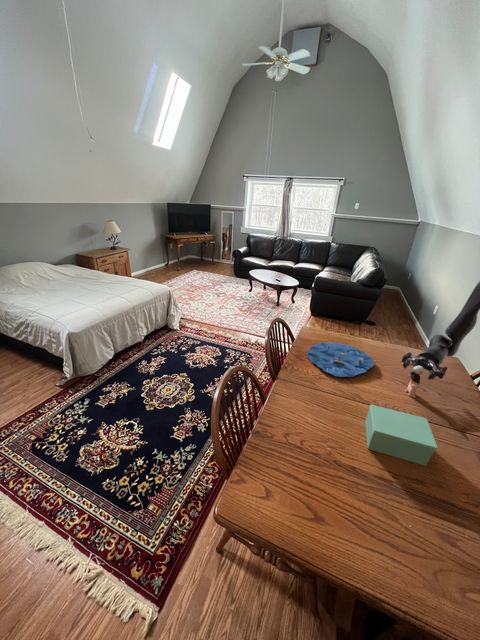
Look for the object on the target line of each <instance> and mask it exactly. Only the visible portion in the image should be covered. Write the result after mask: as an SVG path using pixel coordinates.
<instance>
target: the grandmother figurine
mask: <svg viewBox="0 0 480 640" xmlns="http://www.w3.org/2000/svg"><path fill="white" fill-rule="evenodd" d="M424 370H425V369H424V368H423V367H422V366H413V368H412V371H411V372H409V374H408V377H409V378H410V381H409V383H408V386H407V388H406V389H405V390H404V391H405V393H407V394H406V395H407V396H408V397H410V398H416V393H417V389H419V386H420V384H421V375H422V374H423V372H424Z"/></svg>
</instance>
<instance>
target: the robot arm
mask: <svg viewBox="0 0 480 640" xmlns="http://www.w3.org/2000/svg"><path fill="white" fill-rule="evenodd" d="M479 312H480V280H479V281H478V282H477V284H476V285H475V287H474V288H473V290H472V291H471V293H470V295H469V297H468V298H467V300H466V302H465V304H464V305H463V307H462V308H461V310H460V312H459V313H458V314H457V316H456V317H455V318H454V319H453V321H451V322H450V324H449V325H448V326H447V327H446V329H445V331H444V333H445V335H444V334H441V333H440V334H435V335H434V336H432V337H431V338H430V341H429V344H428V347H426V348H424V350H423V351H421V352H420V353H419V354H418V355H415V356H414V355H412V354H413V353H412V352H409V351H408V352H407V353H405V354H404V355H403V356H402V358H401V363H402V367H403V369H407V368H408V367H409V366H412V367H416V366H422V367H423V368H424V370H426V371H427V372H428V373H429V375H428V378H427V379H428V380H434V379H435V378H437V377H438V379H441V380H442V379H443V378H444V376H445V374H446V373H447V371H448V367H447V366H440V365H442V363H443V362H444V360H445V359H446V357H447V358H450V357H453V356H456V354H457V352H458V351H459V349H460V346H461V344H462V342H463V340H464V339H465V338H466V337H467V336H468V335H469V334H470V333H471V331H472V330H473V329H474V328H475V326H476V325H477V322H478V315H479Z"/></svg>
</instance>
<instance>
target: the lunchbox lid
mask: <svg viewBox="0 0 480 640" xmlns="http://www.w3.org/2000/svg"><path fill="white" fill-rule="evenodd" d="M370 408H371V416H372V424H373V432H374V433H377V434H381V435H385V436H388V437H392V438H395V439H399V440H403V441H406V442H410V443H413V444H417V445H420V446H424V447H428V448H431V449H435V450H434V451H437V450H438V449H439V447H438V445H437V442H436V440H435V437H434V434H433V431H432V429H431V425H430V424H429V423H430V422H429V420H428V418H427V417H423V416H419V415H415V414H411V413H407V412H403V411H398V410H395V409H391V408H387V407H383V406H379V405H375V404H370V405H369V409H370Z"/></svg>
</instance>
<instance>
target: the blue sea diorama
mask: <svg viewBox="0 0 480 640" xmlns="http://www.w3.org/2000/svg"><path fill="white" fill-rule="evenodd" d="M307 350H308V351H307V352H306V353H307V357H308V358H309V361H310V362H311V363H313V364H314V365H316V366H317V367H318V368H319V369H321V370H322V371H323V372H325V373H328V374H330V375H333V376H334V377H339V378H344V377H349V378H351V377H357V375H361V374H364V373H366V372H368V370H370V369H371V368H372V367H374V366H375V363H374V360H373V358H372V357H371V356H370V355H368V354H367V353H366V352H364V351H362V350H360V349H358V348H356V347H354V346H351V345H348V344H346V343H338V342H336V343H335V342H327V341H326V342H317V343H316V344H313V345H311V346H310V347H309V348H307Z"/></svg>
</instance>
